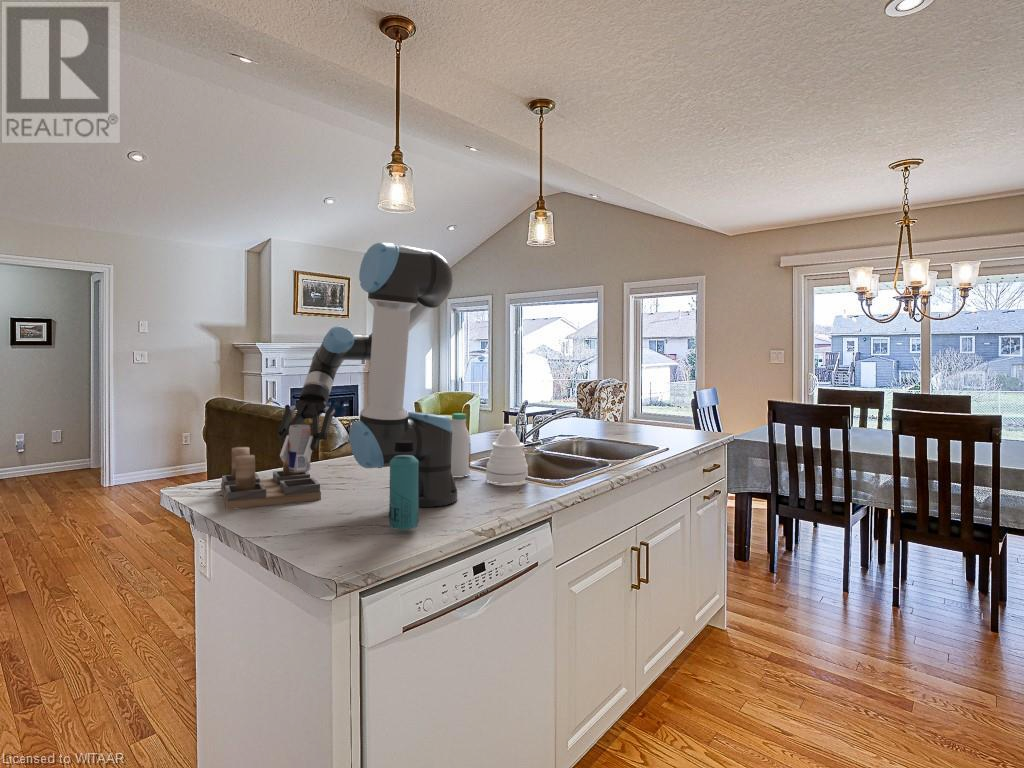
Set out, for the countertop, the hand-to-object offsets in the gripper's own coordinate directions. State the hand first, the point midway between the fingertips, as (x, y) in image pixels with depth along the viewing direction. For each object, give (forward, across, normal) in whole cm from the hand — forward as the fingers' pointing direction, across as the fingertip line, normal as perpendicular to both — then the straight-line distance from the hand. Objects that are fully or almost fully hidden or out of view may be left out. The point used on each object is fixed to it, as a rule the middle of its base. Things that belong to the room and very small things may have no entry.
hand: (294, 458), depth 142 cm
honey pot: (-11, -55, -27) cm, 63 cm away
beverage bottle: (+24, -32, +9) cm, 42 cm away
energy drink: (0, 0, -6) cm, 6 cm away
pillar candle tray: (+4, +9, -12) cm, 15 cm away
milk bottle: (-16, -40, -32) cm, 53 cm away
